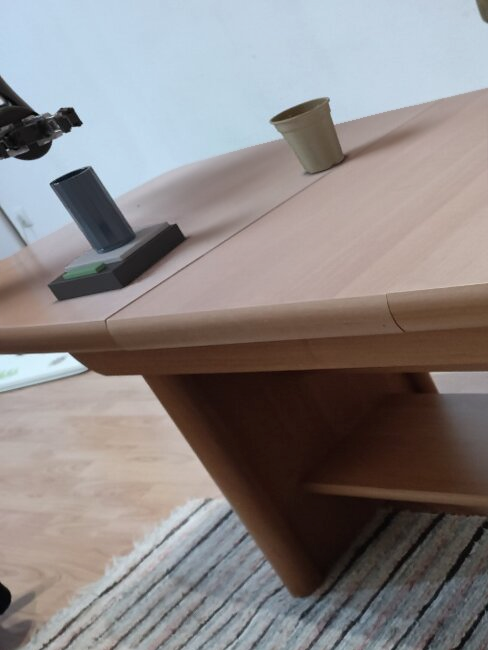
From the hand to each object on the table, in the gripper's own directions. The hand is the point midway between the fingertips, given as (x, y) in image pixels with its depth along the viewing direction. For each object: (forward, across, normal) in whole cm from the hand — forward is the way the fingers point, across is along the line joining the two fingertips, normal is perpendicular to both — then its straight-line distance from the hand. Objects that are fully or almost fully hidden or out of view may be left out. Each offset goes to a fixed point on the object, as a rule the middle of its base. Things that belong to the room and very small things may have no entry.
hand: (34, 137), depth 119 cm
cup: (+11, 0, +15) cm, 18 cm away
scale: (+12, -1, +18) cm, 21 cm away
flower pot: (+11, +32, +18) cm, 38 cm away
